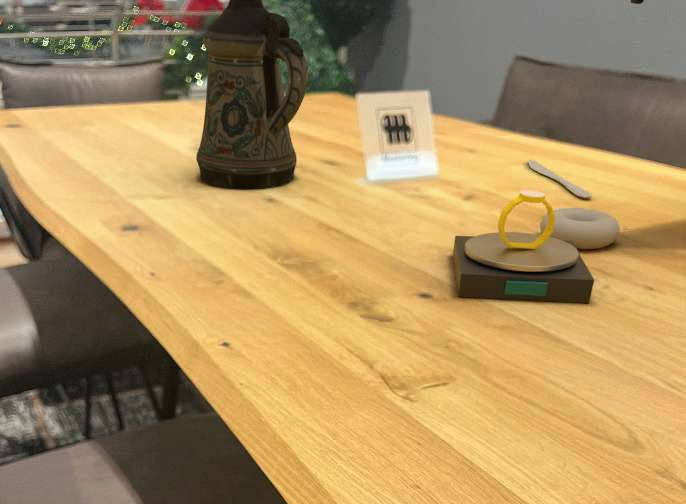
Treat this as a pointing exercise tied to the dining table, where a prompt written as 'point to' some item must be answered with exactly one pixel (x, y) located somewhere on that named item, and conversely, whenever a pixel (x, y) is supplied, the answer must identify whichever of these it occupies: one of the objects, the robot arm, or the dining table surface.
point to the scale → (520, 280)
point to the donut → (583, 227)
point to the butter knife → (559, 179)
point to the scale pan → (521, 252)
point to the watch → (532, 198)
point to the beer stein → (250, 99)
